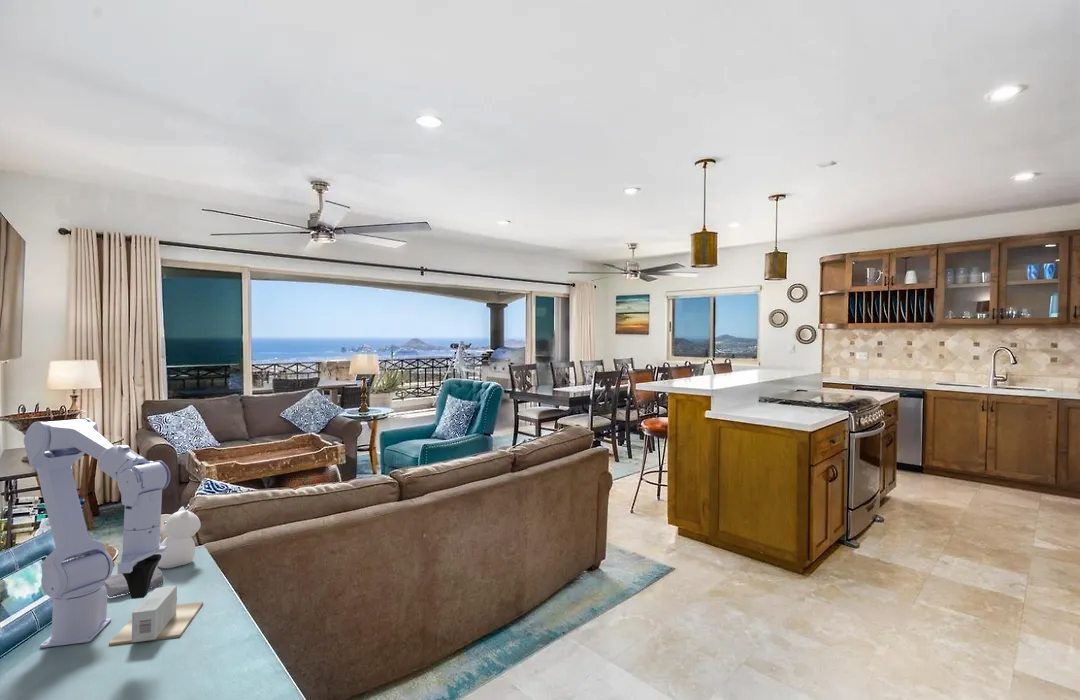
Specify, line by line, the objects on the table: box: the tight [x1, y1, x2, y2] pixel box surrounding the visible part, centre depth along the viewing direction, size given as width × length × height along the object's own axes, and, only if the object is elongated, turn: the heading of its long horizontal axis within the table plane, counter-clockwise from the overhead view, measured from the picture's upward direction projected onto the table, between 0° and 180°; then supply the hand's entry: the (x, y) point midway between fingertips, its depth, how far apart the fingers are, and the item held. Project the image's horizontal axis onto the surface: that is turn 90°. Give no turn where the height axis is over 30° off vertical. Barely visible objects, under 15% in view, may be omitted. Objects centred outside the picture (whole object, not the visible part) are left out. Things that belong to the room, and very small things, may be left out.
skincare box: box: [131, 585, 178, 643], centre depth 108 cm, size 6×4×12 cm
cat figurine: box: [156, 506, 201, 569], centre depth 142 cm, size 9×12×15 cm
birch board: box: [108, 601, 204, 646], centre depth 111 cm, size 15×12×1 cm
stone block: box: [104, 566, 165, 597], centre depth 127 cm, size 12×5×10 cm
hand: (139, 597), depth 100 cm, fingers closed
